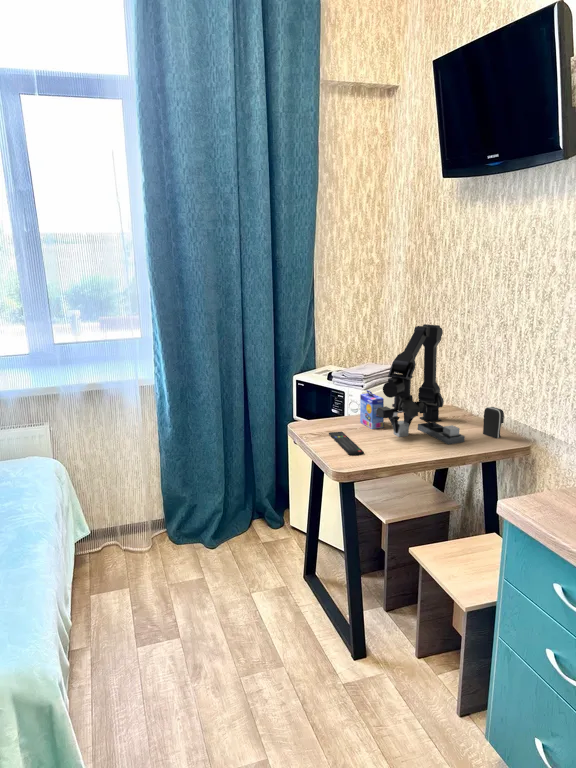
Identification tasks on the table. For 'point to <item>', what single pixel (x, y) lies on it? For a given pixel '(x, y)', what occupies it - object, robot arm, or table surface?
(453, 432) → the light grey block
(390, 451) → the table surface
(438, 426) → the dark grey tray
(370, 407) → the ink cartridge box
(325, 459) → the table surface
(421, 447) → the table surface
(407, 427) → the grey block
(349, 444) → the remote control
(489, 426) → the black zippered case
